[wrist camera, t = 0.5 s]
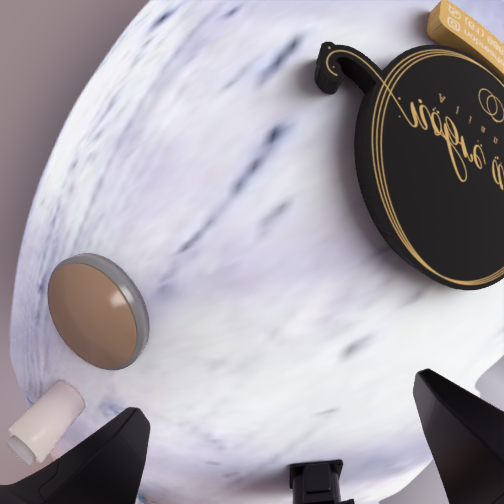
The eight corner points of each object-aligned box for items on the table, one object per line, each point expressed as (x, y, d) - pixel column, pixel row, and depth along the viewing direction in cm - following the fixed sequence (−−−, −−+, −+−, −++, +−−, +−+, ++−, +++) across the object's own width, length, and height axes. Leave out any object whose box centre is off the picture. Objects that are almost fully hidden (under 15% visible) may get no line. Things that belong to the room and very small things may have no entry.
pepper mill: (90, 413, 28) (43, 476, 16) (64, 405, 29) (17, 460, 16) (76, 384, 27) (18, 447, 14) (50, 376, 28) (-6, 430, 15)
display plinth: (161, 367, 25) (154, 378, 23) (74, 355, 26) (65, 363, 24) (135, 249, 22) (124, 254, 20) (46, 256, 23) (34, 261, 22)
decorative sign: (569, 122, 12) (520, 327, 17) (553, 124, 15) (504, 315, 21) (359, -45, 12) (257, 201, 18) (353, -26, 15) (261, 199, 21)
